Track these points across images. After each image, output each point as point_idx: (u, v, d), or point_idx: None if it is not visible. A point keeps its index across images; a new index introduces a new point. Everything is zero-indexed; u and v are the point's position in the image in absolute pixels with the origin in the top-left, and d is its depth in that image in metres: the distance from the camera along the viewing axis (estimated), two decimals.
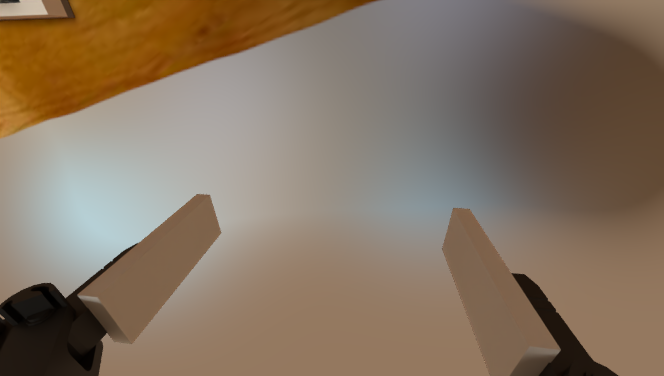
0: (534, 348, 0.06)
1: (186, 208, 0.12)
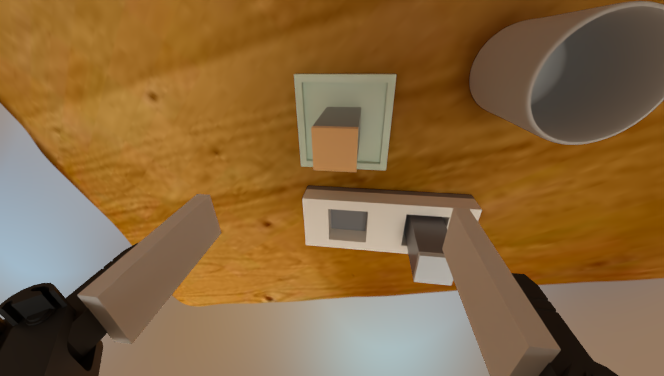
0: (534, 348, 0.06)
1: (186, 208, 0.12)
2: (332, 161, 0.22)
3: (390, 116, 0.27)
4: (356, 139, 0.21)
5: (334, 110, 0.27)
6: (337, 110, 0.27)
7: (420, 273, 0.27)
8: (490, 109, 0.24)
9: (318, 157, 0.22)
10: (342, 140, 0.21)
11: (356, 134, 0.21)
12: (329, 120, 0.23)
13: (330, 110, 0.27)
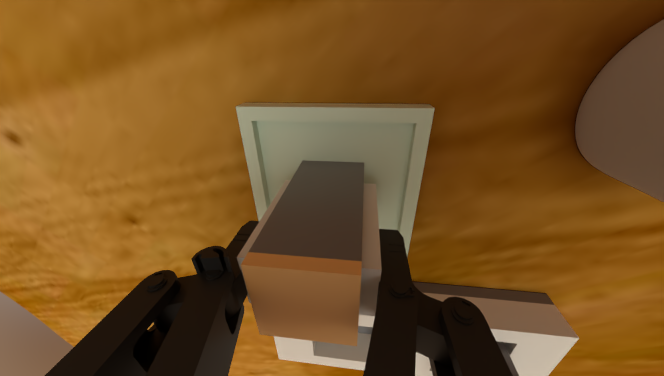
0: (365, 270, 0.09)
1: None
2: (300, 325, 0.09)
3: (418, 181, 0.15)
4: (356, 294, 0.08)
5: (314, 173, 0.14)
6: (319, 174, 0.14)
7: None
8: (643, 187, 0.11)
9: (267, 316, 0.09)
10: (321, 293, 0.08)
11: (356, 285, 0.08)
12: (295, 220, 0.10)
13: (306, 174, 0.14)
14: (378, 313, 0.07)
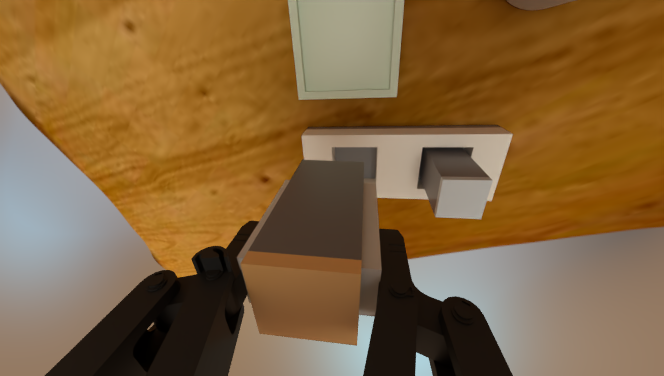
0: (365, 270, 0.09)
1: None
2: (300, 324, 0.09)
3: (400, 23, 0.23)
4: (356, 293, 0.08)
5: (313, 173, 0.14)
6: (319, 173, 0.14)
7: (443, 204, 0.22)
8: None
9: (267, 315, 0.09)
10: (321, 292, 0.08)
11: (356, 284, 0.08)
12: (295, 219, 0.10)
13: (306, 173, 0.14)
14: (378, 313, 0.07)
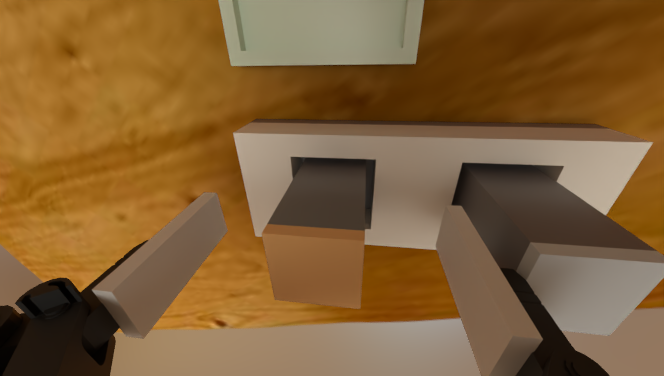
0: (517, 338, 0.07)
1: (194, 205, 0.13)
2: (311, 290, 0.11)
3: None
4: (360, 258, 0.09)
5: (320, 162, 0.16)
6: (325, 163, 0.15)
7: None
8: None
9: (282, 282, 0.11)
10: (330, 258, 0.10)
11: (360, 250, 0.09)
12: (306, 200, 0.12)
13: (313, 162, 0.16)
14: None
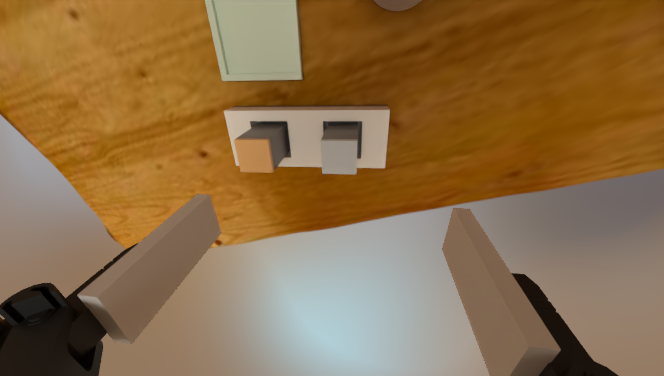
0: (534, 348, 0.06)
1: (186, 208, 0.12)
2: (253, 164, 0.29)
3: (295, 18, 0.29)
4: (268, 148, 0.28)
5: (264, 124, 0.34)
6: (266, 124, 0.34)
7: (326, 162, 0.28)
8: None
9: (242, 162, 0.29)
10: (258, 148, 0.28)
11: (267, 144, 0.28)
12: (252, 133, 0.30)
13: (261, 124, 0.34)
14: None
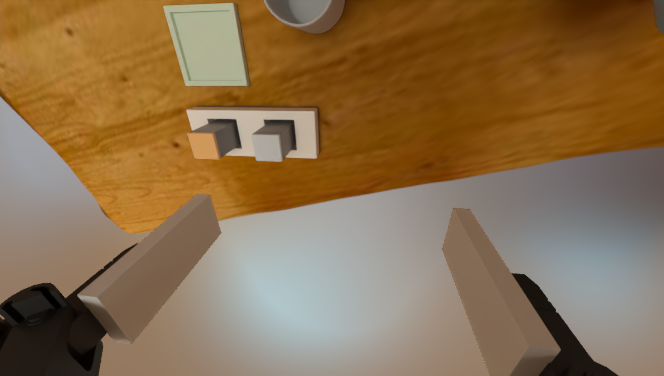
0: (534, 348, 0.06)
1: (186, 208, 0.12)
2: (204, 152, 0.37)
3: (238, 38, 0.37)
4: (213, 139, 0.36)
5: (219, 121, 0.42)
6: (221, 121, 0.42)
7: (257, 152, 0.36)
8: None
9: (195, 150, 0.37)
10: (205, 140, 0.36)
11: (212, 136, 0.36)
12: (204, 128, 0.38)
13: (216, 121, 0.42)
14: None
